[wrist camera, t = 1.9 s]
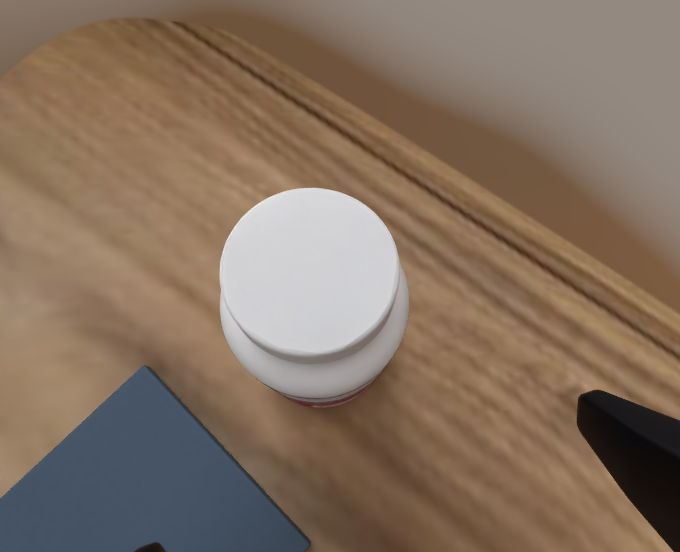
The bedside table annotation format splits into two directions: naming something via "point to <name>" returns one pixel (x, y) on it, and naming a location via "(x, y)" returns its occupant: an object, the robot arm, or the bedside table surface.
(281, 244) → the pill bottle
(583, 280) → the bedside table surface
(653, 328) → the bedside table surface
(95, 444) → the mat
